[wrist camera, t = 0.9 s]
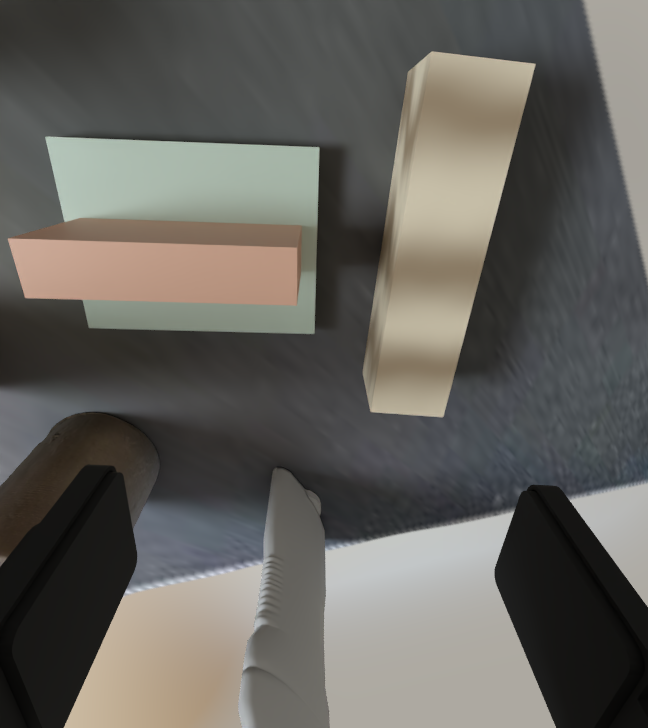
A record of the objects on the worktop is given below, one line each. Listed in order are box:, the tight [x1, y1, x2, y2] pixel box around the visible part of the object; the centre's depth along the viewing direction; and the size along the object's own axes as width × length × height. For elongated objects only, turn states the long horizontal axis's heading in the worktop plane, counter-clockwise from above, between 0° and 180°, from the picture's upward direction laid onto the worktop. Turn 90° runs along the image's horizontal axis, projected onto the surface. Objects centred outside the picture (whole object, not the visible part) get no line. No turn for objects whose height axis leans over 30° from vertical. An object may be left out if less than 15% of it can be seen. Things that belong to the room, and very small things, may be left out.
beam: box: [363, 52, 536, 417], centre depth 27 cm, size 20×5×6 cm, turn 175°
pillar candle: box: [0, 413, 160, 566], centre depth 31 cm, size 10×10×15 cm
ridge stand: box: [8, 137, 319, 334], centre depth 25 cm, size 12×16×8 cm
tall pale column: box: [238, 467, 329, 728], centre depth 30 cm, size 11×4×22 cm, turn 23°
